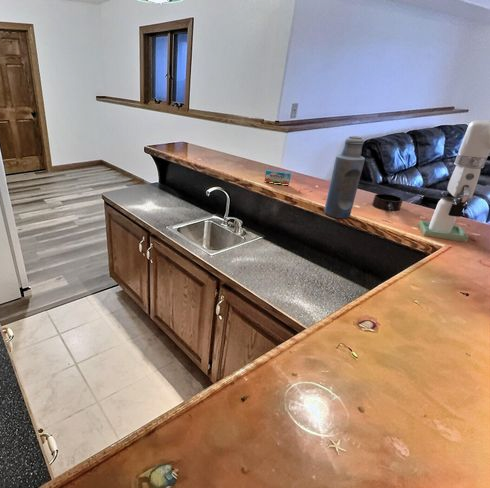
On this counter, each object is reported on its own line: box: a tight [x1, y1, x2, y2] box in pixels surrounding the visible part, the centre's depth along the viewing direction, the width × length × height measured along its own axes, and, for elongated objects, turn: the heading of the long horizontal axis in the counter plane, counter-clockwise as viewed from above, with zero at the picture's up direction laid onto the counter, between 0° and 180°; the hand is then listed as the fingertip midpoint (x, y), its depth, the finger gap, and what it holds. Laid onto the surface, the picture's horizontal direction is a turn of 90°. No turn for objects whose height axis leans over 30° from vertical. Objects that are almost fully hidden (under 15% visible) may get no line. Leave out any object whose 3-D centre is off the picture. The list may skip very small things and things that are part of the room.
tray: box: [418, 220, 469, 243], centre depth 123 cm, size 12×10×2 cm
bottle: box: [323, 135, 366, 219], centre depth 132 cm, size 10×10×30 cm
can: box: [428, 196, 460, 234], centre depth 121 cm, size 6×6×12 cm
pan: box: [371, 193, 404, 212], centre depth 143 cm, size 10×19×4 cm, turn 156°
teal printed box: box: [264, 169, 292, 186], centre depth 174 cm, size 12×2×6 cm, turn 60°
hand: (450, 211), depth 120 cm, fingers open, 9 cm apart
